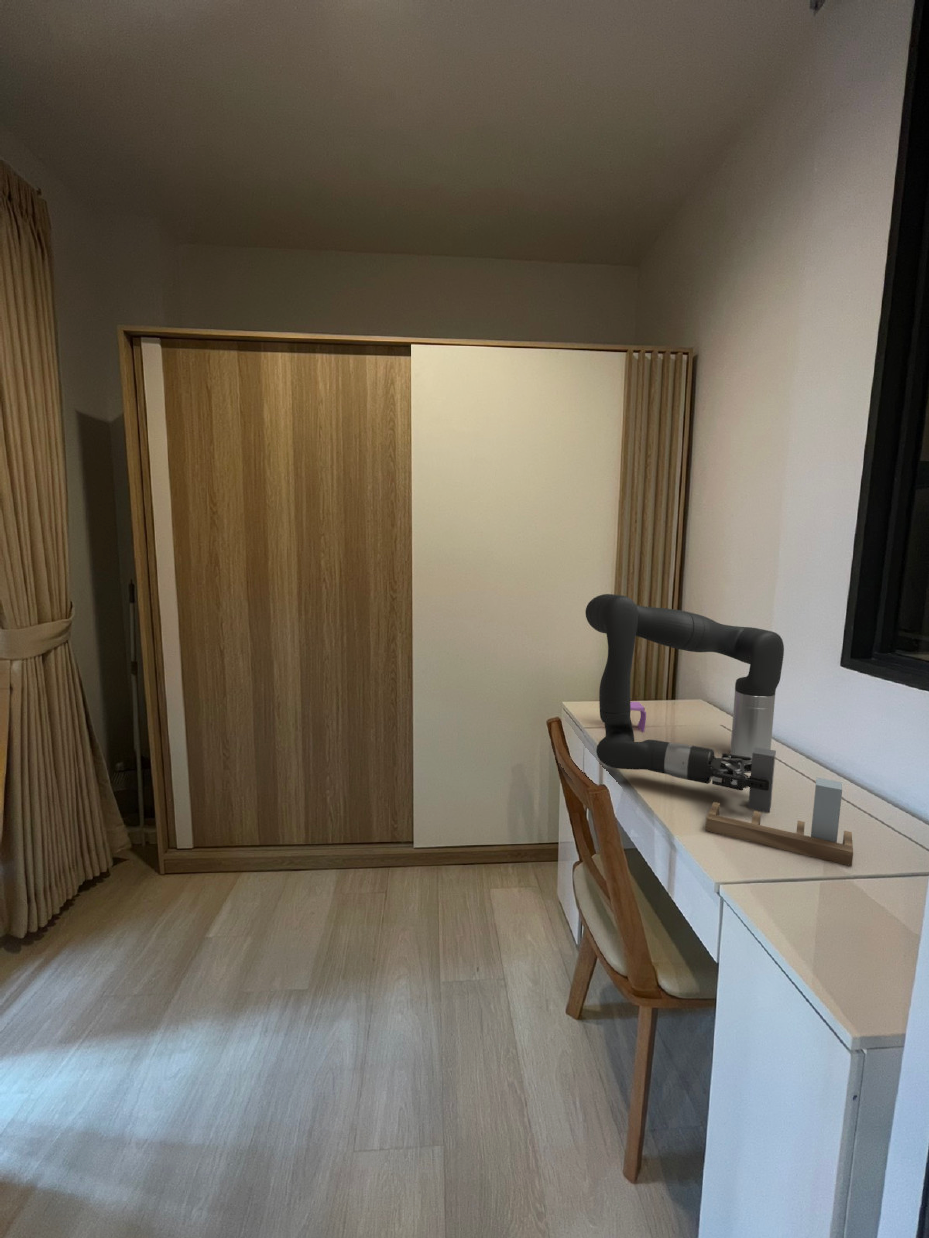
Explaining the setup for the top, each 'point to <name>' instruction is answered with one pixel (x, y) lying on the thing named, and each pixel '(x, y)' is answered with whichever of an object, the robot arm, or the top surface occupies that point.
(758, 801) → the grey tall rectangular block
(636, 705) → the toy chair
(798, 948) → the top surface
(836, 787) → the slate plug
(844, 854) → the cable comb
